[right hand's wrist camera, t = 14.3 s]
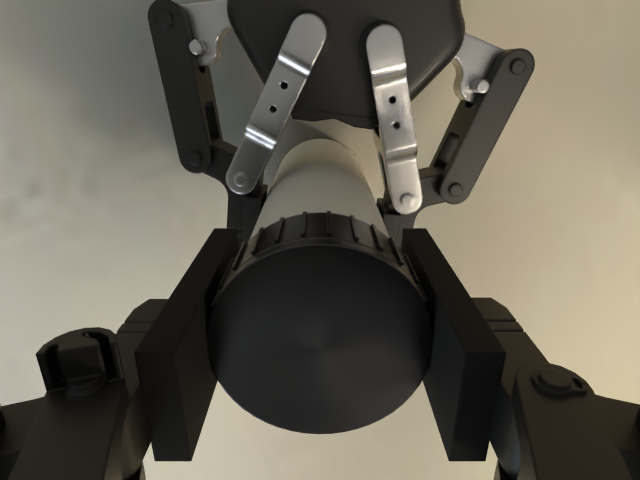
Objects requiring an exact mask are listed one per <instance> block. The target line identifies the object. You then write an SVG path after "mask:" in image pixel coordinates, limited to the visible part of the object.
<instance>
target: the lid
mask: <svg viewBox="0 0 640 480" xmlns="http://www.w3.org/2000/svg"><path fill="white" fill-rule="evenodd" d="M428 303H429V301H428V299H427V297H426V294H425V292H424V290H423V288H422V286H421V284H420V281H419V279H418V277H417V275H416V273H415V271H414V269H413V267H412V265H411V263H410V261H409V259H408V256H407V255H406V253H403V254H402V252H401V251H400V250H399V248H398V247H397V246H396V244H395V241H394V239H393V238H392V237H390V238H388V237H387V236H386V235H385V234H384V233H382V232H381V231H379V230H378V229H377V228H376V225H374V224H372V225H369V224H367V223H365V222H363V221H361V220H358V219H355V217H354V215H350V216H345V215H341V214H335V213H331V211H327V213H324V212H321V213H307V211H305V212H303V214H300V215H295V216H291V217H288V218H285V219H284V217H281V218H280V219H279V221H277V222H275V223H273V224H271V225H269V226H267V227H266V228H263V227H261V228H260V229H259V231H258V233H257V234H256V235H255V236H253V237H252V238H251V239H250V240H249V241H248V242H246V241H244V242H243V244H242V246H241V248H240V250H239V253H238V254H237V256H236V257H235V259H234V258H231V260H230V262H229V265H228V267H227V269H226V271H225V273H224V275H223V278H222V280H221V282H220V284H219V286H218V291H217V293H216V295H215V297H214V299H213V302H212V304H211V306H210V309H211V310H212V311H211V314H210V317H209V320H208V327H207V346H208V354H209V360H210V363H211V366H212V369H213V371H214V373H215V375H216V377H217V379H218V381H219V383H220V384H221V386H222V387H223V389H224V390H225V391H226V393H227V394H228V395H229V396H230V397H231V398H232V399H233V400H234V401H235V402H236V403H237V404H238V405H239V406H240V407H242V408H243V409H244V410H245V411H247V412H248V413H250V414H251V415H253V416H254V417H256V418H258V419H260V420H262V421H264V422H266V423H268V424H271V425H273V426H276V427H279V428H282V429H286V430H290V431H294V432H300V433H309V434H332V433H340V432H346V431H350V430H355V429H358V428H361V427H364V426H367V425H370V424H372V423H374V422H376V421H378V420H380V419H382V418H384V417H386V416H387V415H389V414H391V413H392V412H394V411H395V410H396V409H397V408H399V407H400V406H401V405H402V404H404V403H405V402H406V401H407V400H408V399H409V397H410V396H411V395H412V394H413V393H414V392H415V390H416V389H417V388H418V386H419V385H420V383H421V382H422V380H423V378H424V376H425V375H426V372H427V370H428V367H429V364H430V361H431V356H432V348H433V339H434V332H433V324H432V320H431V316H430V312H429V310H428V307H427V305H426V304H428Z"/></svg>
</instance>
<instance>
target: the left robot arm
mask: <svg viewBox="0 0 640 480" xmlns="http://www.w3.org/2000/svg"><path fill="white" fill-rule="evenodd" d="M148 21H149V25H150V30H151V34H152V39H153V43H154V48H155V52H156V56H157V61H158V65H159V70H160V74H161V79H162V83H163V87H164V92H165V96H166V101H167V105H168V109H169V114H170V118H171V123H172V127H173V132H174V136H175V140H176V145H177V149H178V154H179V158H180V162H181V164H182V165H183V167H184V168H185V169H186V170H188V171H189V172H192V173H202V172H203V173H205V174H207V175H209V176H211V177H213V178H215V179H217V180H219V181H220V182H221V183H222V184H223V185H224V186H225V188H226V190H227V192H228V215H227V228H238V239H239V250H240V248H241V246H242V244H243V242H244V241H246V242H248V241H249V240H250V238H251V235H252V233H253V230H254V228H255V225H256V223H257V220H258V218H259V215H260V213H261V210H262V208H263V205H264V203H265V201H266V198H267V188H268V185H265V184H263V175H264V169H265V167H266V165H267V163H268V161H269V158H270V156H271V154H272V152H273V150H274V148H275V146H276V144H277V142H278V140H279V138H280V136H281V134H282V132H283V130H284V128H285V126H286V124H287V122H288V120H289V118H290V116H293V118H292V119H298V120H305V121H320V120H327V119H337V120H339V121H342V122H344V123H346V124H349V125H351V126H353V127H359V128H366V129H372V131H373V137H374V142H375V146H376V149H377V153H378V158H379V163H380V169H381V174H382V179H383V185H384V189H385V191H384V197H383V199H382V198H377V204H376V205H377V208H378V210H379V212H380V215H381V217H382V220H383V222H384V225H385V227H386V230H387V232H388V235H389V237H392V238H393V239H394V241H395V244H396V246H397V247H398V248H399V250H400V251H401V243H402V230H403V228H413V225H414V221H415V218H416V216H417V214H418V213H419V212H420V211H421V210H422V209H423V208H425V207H427V206H429V205H434V204H438V203H443V202H447V203H449V204H459V203H461V202H463V201H464V200H466V199H467V197H468V196H469V194H470V192H471V190H472V188H473V186H474V185H475V183H476V181H477V179H478V177H479V175H480V173H481V171H482V169H483V167H484V165H485V163H486V161H487V159H488V158H489V156H490V154H491V152H492V150H493V148H494V146H495V144H496V142H497V140H498V138H499V136H500V134H501V133H502V131H503V129H504V127H505V125H506V123H507V121H508V119H509V117H510V115H511V113H512V111H513V109H514V108H515V106H516V104H517V102H518V100H519V98H520V96H521V94H522V92H523V90H524V88H525V86H526V84H527V82H528V81H529V79H530V77H531V75H532V73H533V70H534V66H535V61H534V57H533V55H532V54H531V53H530V52H529V51H528V50H526V49H521V48H519V49H508V50H503V49H501V48H499V47H496V46H494V45H492V44H489V43H487V42H485V41H482V40H480V39H478V38H476V37H473V36H471V35H469V34H466V33H465V23H464V19H463V15H462V11H461V6H460V0H213V1H205V2H196V3H188V4H180V3H178V2H175V1H171V0H156V1H155V2H154V3H152V5H151V6H150V8H149V11H148ZM232 30H234V32H235V34H236V36H237V37H238V39H239V41H240V43H241V44H242V46H243V48H244V50H245V52H246V53H247V55H248V57H249V59H250V60H251V62H252V64H253V66H254V68H255V69H256V71H257V73H258V75H259V76H260V78H261V80H262V82H263V84H264V85H265V86H264V88H263V91H262V93H261V95H260V97H259V99H258V102H257V104H256V106H255V108H254V110H253V113H252V115H251V117H250V119H249V122H248V124H247V126H246V129H245V133H244V135H243V138H242V140H241V142H240V144H239V147H238V148H237V147H235V146H233V145H231V144H229V143H227V142H225V141H223V138H222V133H221V127H220V122H219V116H218V111H217V106H216V100H215V95H214V90H213V84H212V79H211V73H210V68H209V66H211V65H214V64H216V63H217V62H218V61H219V60H220V58H221V55H222V42H223V39H224V37H225V35H226V34H227V33H228V32H230V31H232ZM450 61H451V62H452V63H453V64H454V66H455V69H456V78H455V81H454V92H455V94H456V96H457V97H458V98H459V99H461V100H460V103H459V105H458V107H457V109H456V111H455V113H454V115H453V117H452V120H451V122H450V124H449V126H448V128H447V130H446V132H445V134H444V137H443V139H442V141H441V143H440V145H439V147H438V149H437V151H436V153H435V156H434V158H433V160H432V162H431V164H430V166H429V167H427V168H423V169H418V165H417V158H416V154H417V142H416V136H415V129H414V122H413V116H412V109H411V102H412V100H413V99H414V98H415V97H416V96H417V95H418V94H419V93H420V92H421V91H422V90H423V89H424V88H425V87H426V86H427V85H428V84H429V83H430V82H431V81H432V80H433V79H434V78H435V77H436V76H437V75H438V74H439V73H440V72H441V71H442V70H443V69H444V68H445V67H446V66H447V64H448V63H449V62H450Z"/></svg>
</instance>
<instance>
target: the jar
mask: <svg viewBox="0 0 640 480" xmlns="http://www.w3.org/2000/svg"><path fill="white" fill-rule="evenodd" d="M305 211H307V213H321V212H324V213H327V211H331V213H335V214H341V215H345V216H350V215H354V217H355V219H358V220H361V221H363V222H365V223H367V224H369V225H372V224H374V225H376V228H377V229H378V230H379V231H381V232H382V233H384V234H385V235H386V236H387V237H388V238H390V237H389V235H388V232H387V230H386V227H385V225H384V222H383V220H382V217H381V215H380V212H379V210H378V208H377V205H376V203H375V200H374V198H373V195H372V193H371V190H370V188H369V185H368V183H367V181H366V178H365V176H364V173H363V171H362V168H361V166H360V164H359V161H358V160H357V158H356V157H355V155H354V154H353V153H352V152H351V151H350V150H349V149H348V148H347V147H345V146H344V145H342V144H340V143H338V142H336V141H333V140H329V139H312V140H307V141H304V142H302V143H300V144H298V145H297V146H295V147H294V148H292V149H291V150H290V151H289V152H288V153H287V154H286V155H285V157H284V158H283V160H282V162H281V164H280V166H279V168H278V171H277V173H276V176H275V178H274V181H273V183H272V186H271V188H270V191H269V193H268V196H267V198H266V201H265V203H264V205H263V208H262V210H261V213H260V215H259V218H258V220H257V223H256V225H255V228H254V230H253V233H252V235H251V238H252V237H253V236H255V235H256V234H257V233H258V231H259V229H260V228H261V227H263V228H266V227H267V226H269V225H271V224H273V223H275V222H277V221H279V219H280V218H281V217H284V219H285V218H288V217H291V216H295V215H300V214H303V212H305ZM251 238H250V239H251Z"/></svg>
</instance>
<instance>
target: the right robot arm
mask: <svg viewBox="0 0 640 480" xmlns="http://www.w3.org/2000/svg"><path fill="white" fill-rule="evenodd" d="M401 252H402V254H403V253H406V255H407V256H408V259H409V261H410V263H411V265H412V267H413V269H414V271H415V273H416V275H417V277H418V279H419V281H420V284H421V286H422V288H423V290H424V292H425V294H426V297H427V299H428V301H429V303H428V304H426V305H427V307H428V310H429V312H430V316H431V320H432V324H433V332H434V339H433V348H432V356H431V361H430V364H429V367H428V370H427V372H426V375H425V376H424V378H423V383H424V386H425V389H426V392H427V395H428V398H429V401H430V404H431V407H432V411H433V414H434V417H435V420H436V423H437V426H438V429H439V432H440V435H441V438H442V441H443V444H444V447H445V450H446V453H447V457H448V460H449V461H485V460H486V455H487V450H488V445H489V440H490V442H491V444H492V447H493V449H494V451H495V453H496V455H497V458H498V461H497V466H496V470H495V475H494V480H640V405H639V404H634V403H629V402H625V401H620V400H615V399H611V398H606V397H602V396H599V395H595V394H594V391H593V390H592V389H591V387H590V386H589V384H588V383H587V382H586V381H585V380H584V379H582V378H581V377H580V376H578V375H577V374H576V373H574V372H572V371H570V370H568V369H566V368H564V367H561V366H558V365H554V364H550V363H549V362H548V361H547V360H546V358H545V357H544V356H543V354H542V353H541V352H540V351H539V349H538V348H537V347H536V345H535V344H534V343H533V341H532V340H531V339H530V338H529V336H528V335H527V334H526V332H523V328H522V327H521V326H520V325H519V323H518V322H516V319H515V318H514V317H513V315H512V314H511V313H510V312H509V310H508V309H507V308H506V307H504V306H503V305H501V304H500V303H498V302H497V301H495V300H494V299H492V298H471V297H470V296H469V294H468V293H467V291H466V290H465V288H464V286H463V285H462V283H461V282H460V280H459V279H458V277H457V276H456V274H455V273H454V271H453V270H452V268H451V266H450V265H449V263H448V262H447V260H446V259H445V257H444V256H443V254H442V253H441V251H440V250H439V248H438V246H437V245H436V243H435V242H434V240H433V239H432V237H431V236H430V234H429V233H428V231H427V230H426V228H403V230H402V243H401ZM238 253H239V239H238V228H214V230H213V231H212V233H211V235H210V236H209V238H208V239H207V241H206V242H205V244H204V245H203V247H202V248H201V250H200V251H199V253H198V255H197V256H196V258H195V259H194V261H193V262H192V264H191V265H190V267H189V268H188V270H187V271H186V273H185V275H184V276H183V278H182V279H181V281H180V282H179V284H178V285H177V287H176V288H175V290H174V291H173V293H172V295H171V296H170V298H169V299H149V300H147V301H146V302H144V303H143V304H141V305H140V306H138V307H137V308H135V309H134V310H133V311H132V312H131V314H130V315H129V316H128V318H127V319H126V320H125V324H122V326H121V327H120V328H119V329H118V331H117V334H114V333H113V332H112V331H111V330H109V329H104V328H99V327H96V328H83V329H78V330H74V331H70V332H67V333H65V334H62V335H60V336H58V337H55V338H54V339H52V340H51V341H49V342H48V343H46V344H44V345H43V346H42V347H41V349H40V350H39V351H38V352H37V353H36V357H37V360H38V363H39V367H40V370H41V373H42V377H43V380H44V383H45V387H46V390H47V392H46V395H45V397H41V398H38V399H34V400H29V401H24V402H20V403H15V404H10V405H6V406H1V405H0V480H145V479H146V478H145V471H144V466H143V461H142V460H143V458H144V456H145V454H146V452H147V449H148V447H149V445H150V443H151V444H152V449H153V454H154V459H155V461H191V460H192V457H193V454H194V451H195V448H196V445H197V442H198V439H199V436H200V433H201V430H202V427H203V424H204V421H205V417H206V414H207V411H208V408H209V405H210V402H211V399H212V396H213V393H214V390H215V387H216V384H217V381H218V379H217V377H216V375H215V373H214V371H213V369H212V366H211V363H210V360H209V354H208V346H207V327H208V320H209V317H210V314H211V311H212V310H211V309H210V306H211V304H212V302H213V299H214V297H215V295H216V293H217V291H218V286H219V284H220V282H221V280H222V278H223V275H224V273H225V271H226V269H227V267H228V265H229V262H230V260H231V258H234V259H235V257H236V256H237V254H238Z"/></svg>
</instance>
